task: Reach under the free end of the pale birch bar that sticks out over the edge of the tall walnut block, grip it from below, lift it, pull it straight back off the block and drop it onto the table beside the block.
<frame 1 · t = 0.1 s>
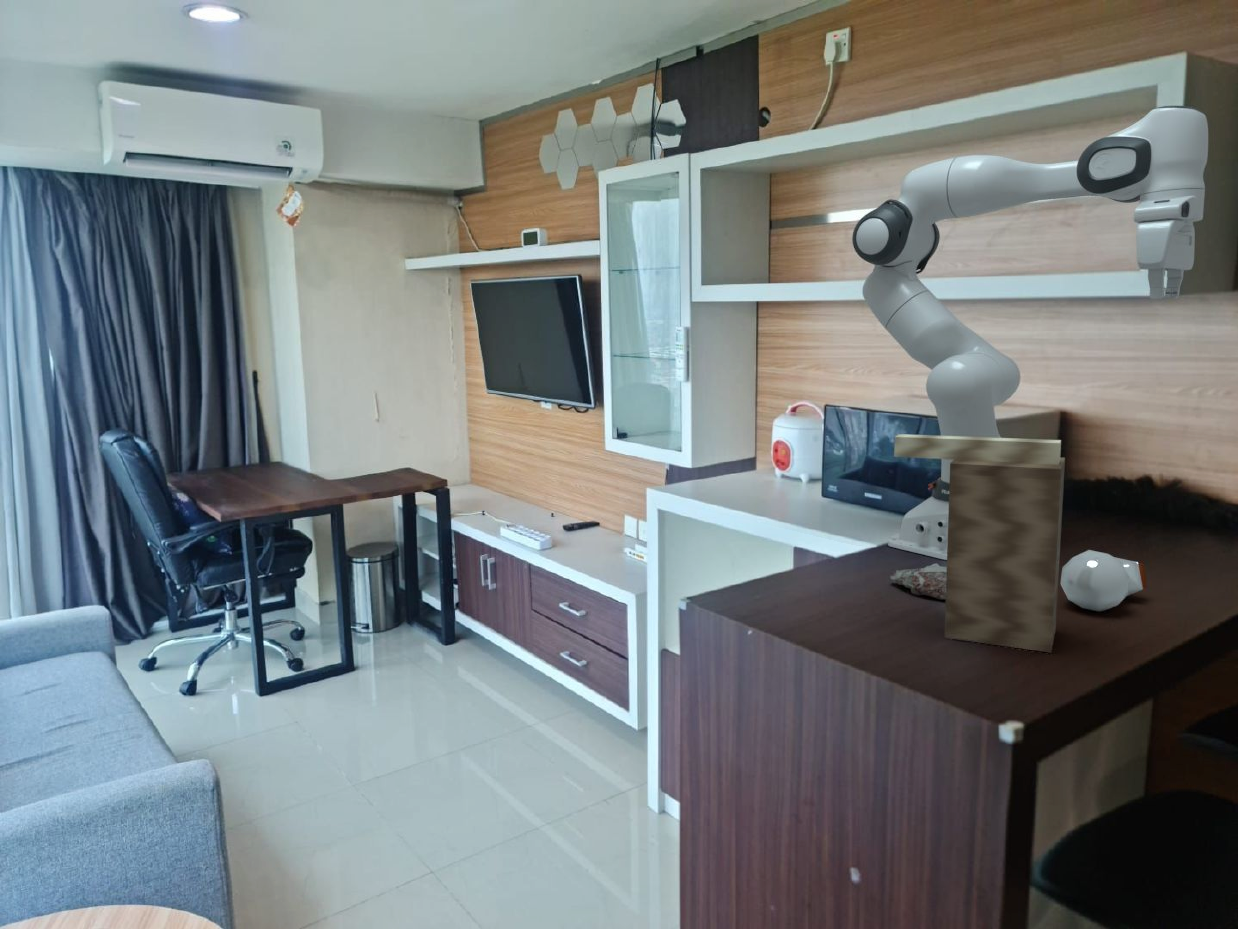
hand: (1164, 298, 141), 48 cm above the table, tool pointing down, fingers open, 8 cm apart
potion bottle: (1101, 606, 138), on the table
walnut block: (1000, 634, 127), on the table
mineral rock: (932, 595, 146), on the table
birch bar: (974, 458, 125), point 26 cm above the table, touching walnut block
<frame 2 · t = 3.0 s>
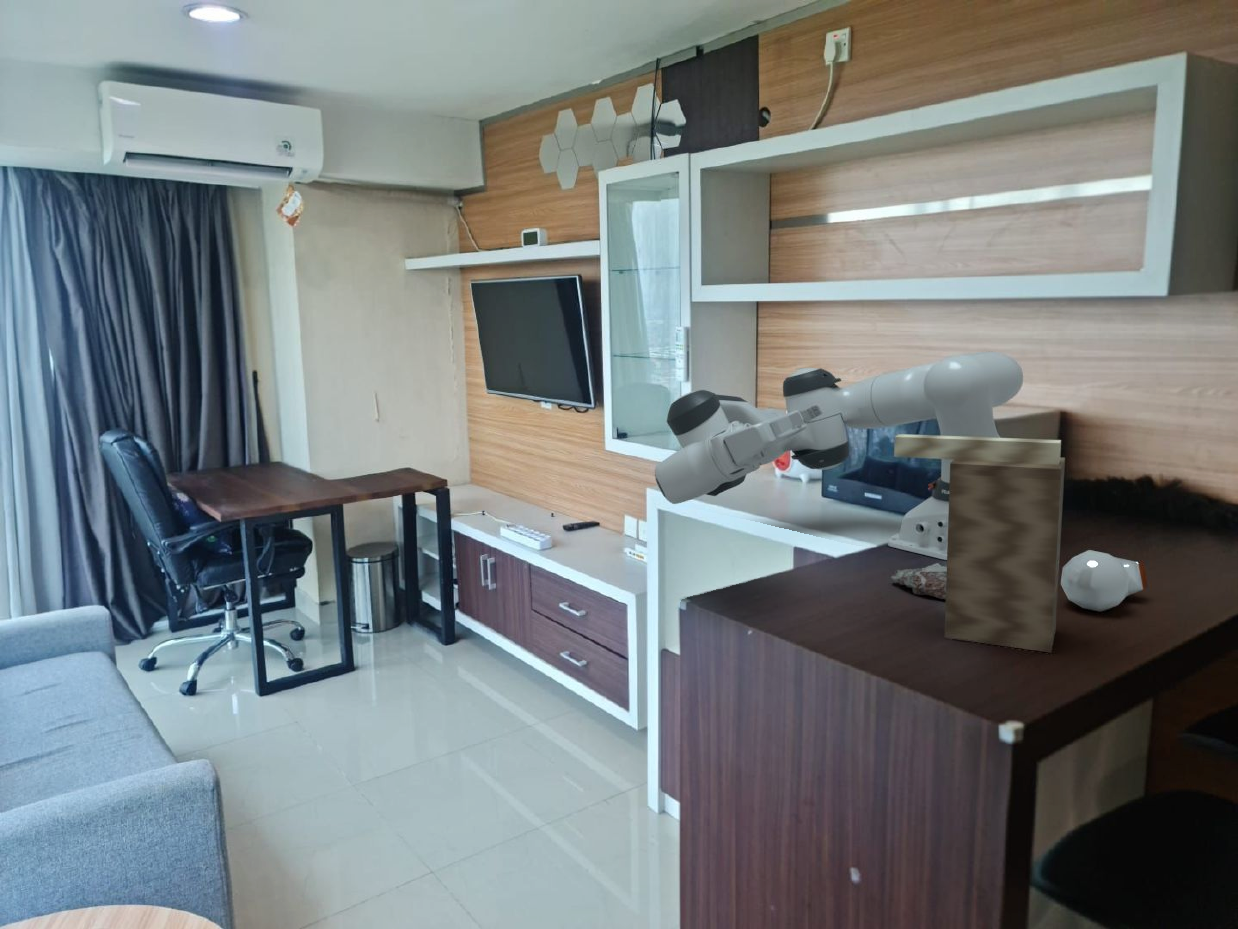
hand: (811, 412, 136), 32 cm above the table, tool pointing upward, fingers open, 8 cm apart
nothing on the table moved.
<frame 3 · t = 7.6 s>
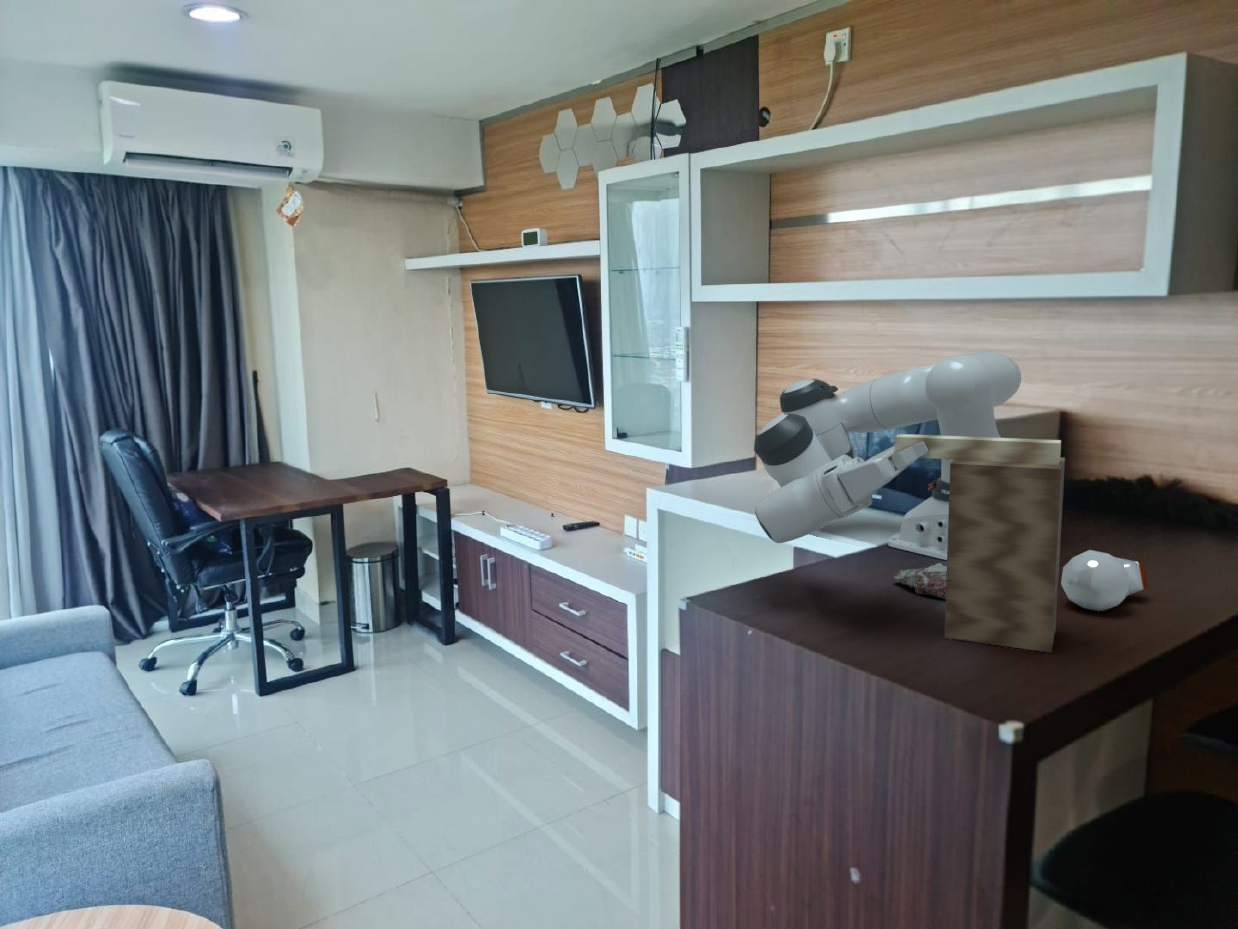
hand: (929, 443, 127), 28 cm above the table, tool pointing upward, fingers closed on birch bar, 3 cm apart
birch bar: (974, 458, 125), point 26 cm above the table, touching gripper, walnut block
everything else where it was.
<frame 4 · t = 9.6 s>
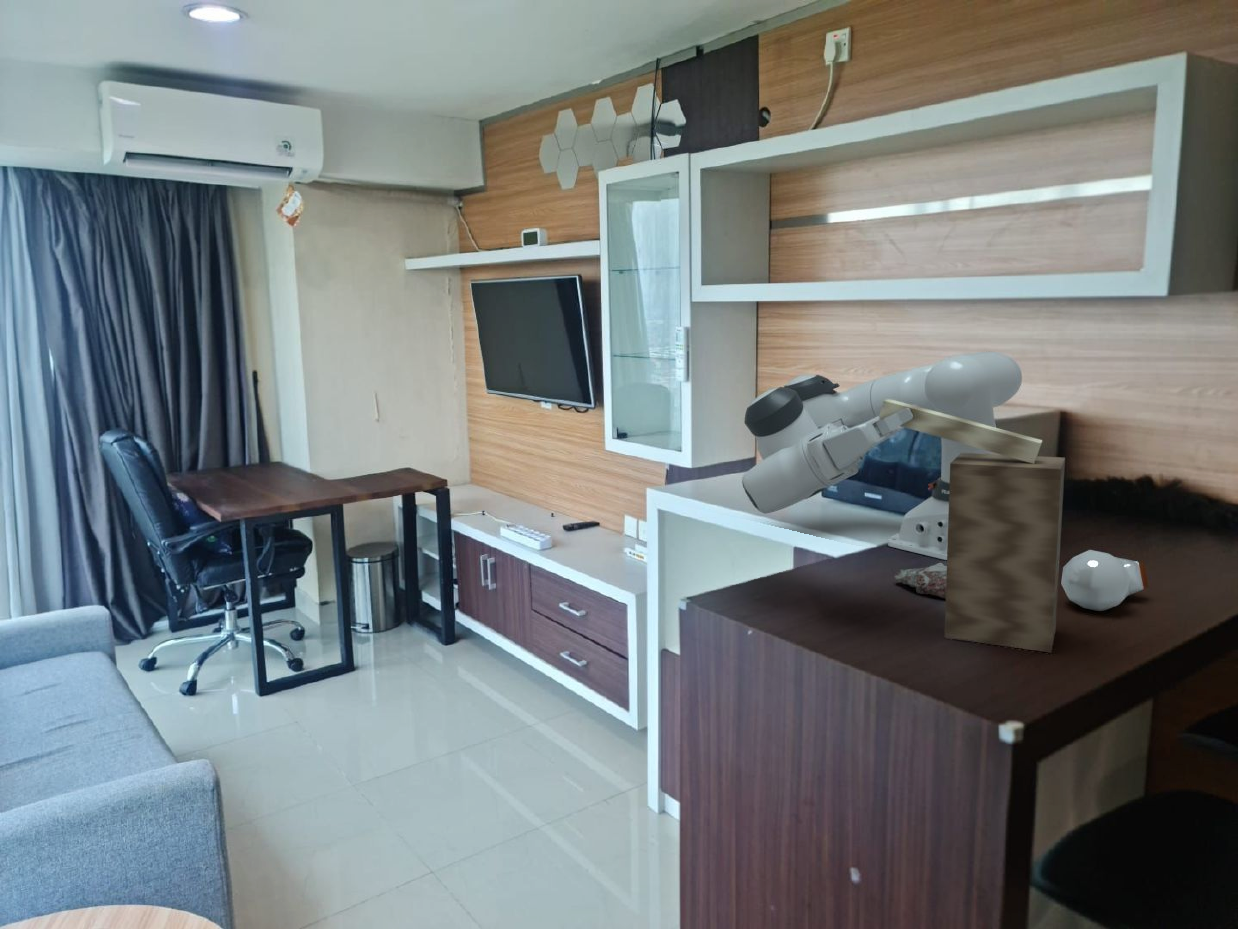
hand: (914, 410, 127), 33 cm above the table, tool pointing upward, fingers closed on birch bar, 3 cm apart
birch bar: (954, 439, 125), point 29 cm above the table, tilted 14°, touching gripper
everything else where it was.
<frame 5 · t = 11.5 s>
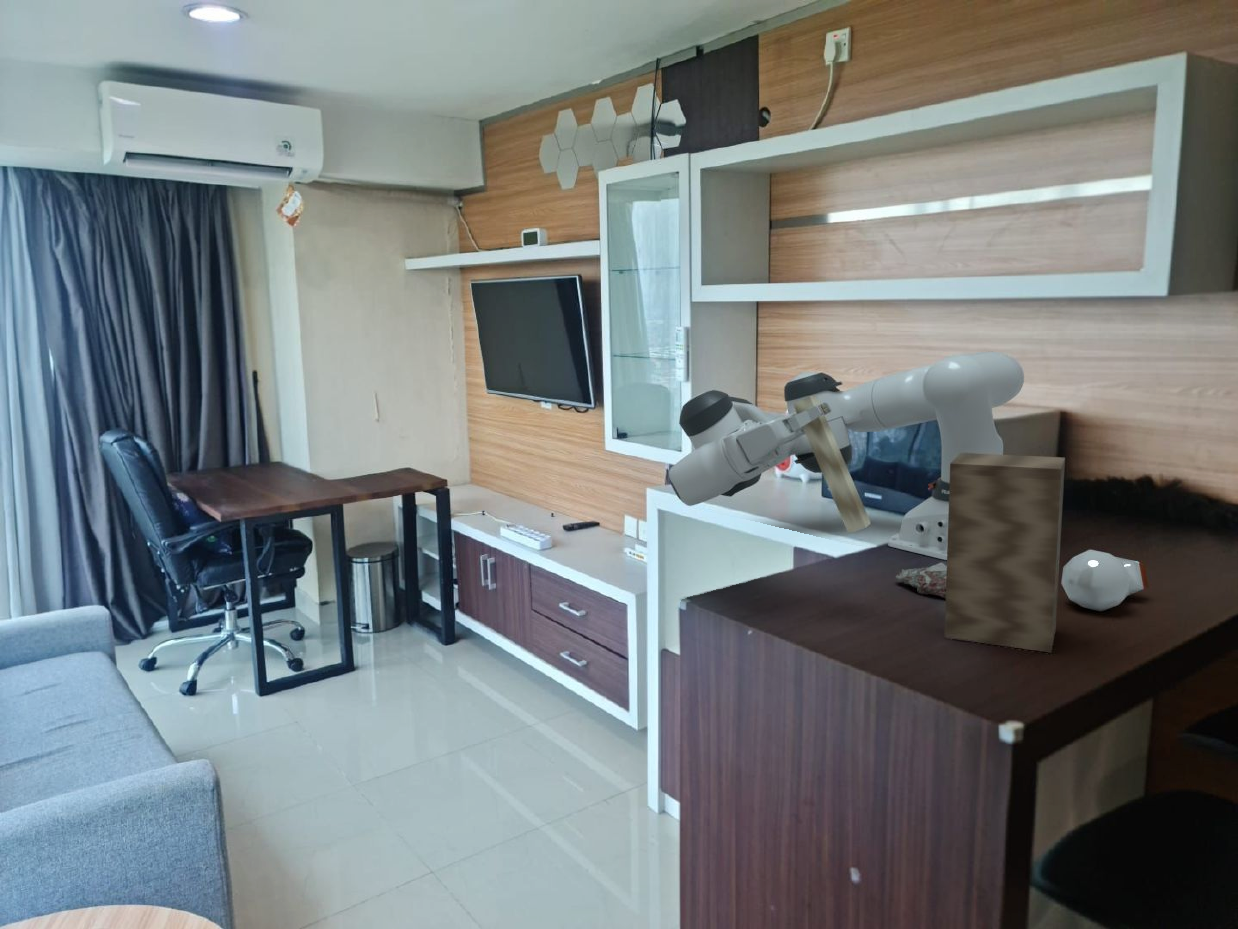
hand: (824, 408, 134), 33 cm above the table, tool pointing upward, fingers closed on birch bar, 3 cm apart
birch bar: (823, 466, 136), point 24 cm above the table, tilted 66°, touching gripper
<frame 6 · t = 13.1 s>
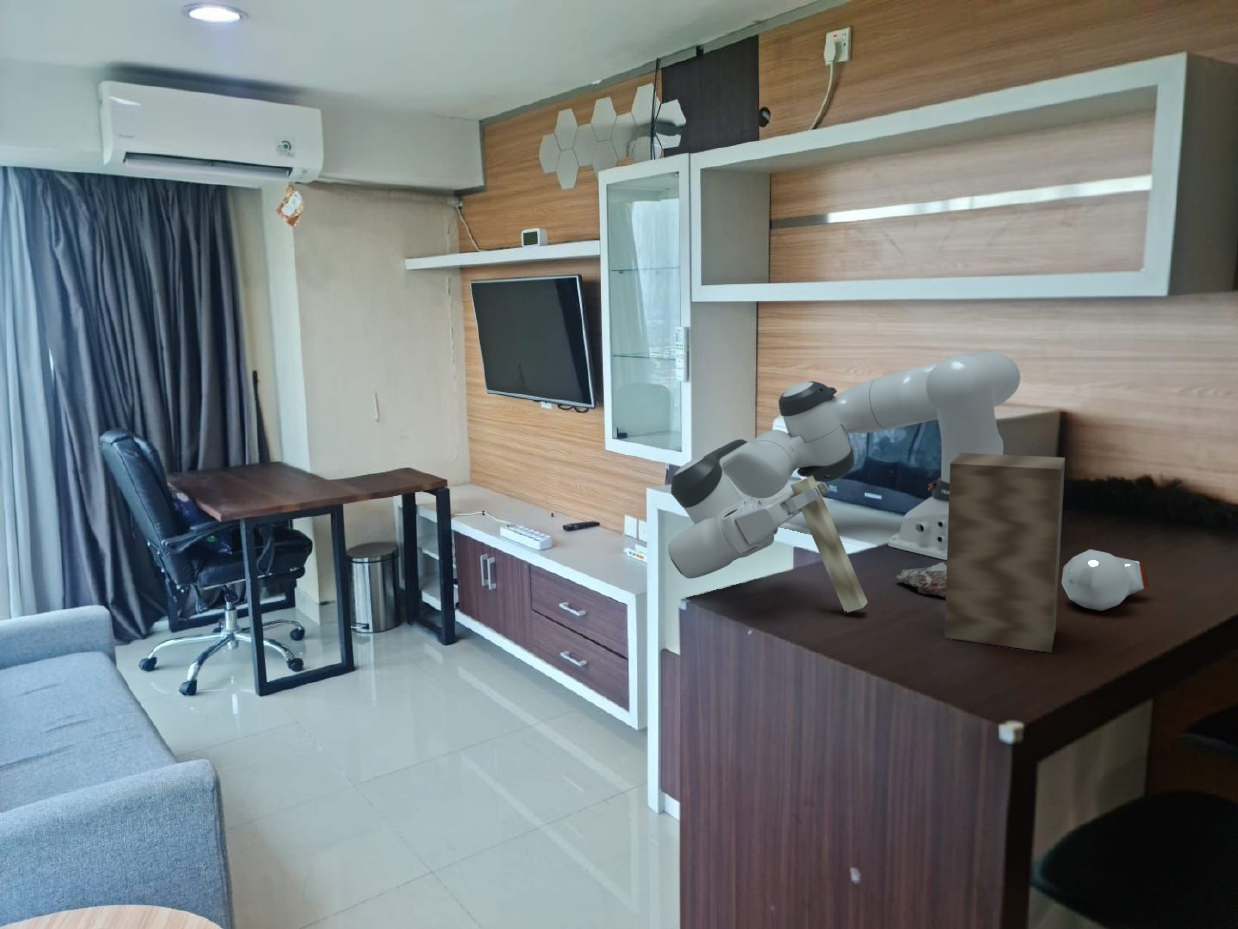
hand: (821, 489, 136), 20 cm above the table, tool pointing upward, fingers closed on birch bar, 3 cm apart
birch bar: (820, 546, 138), point 11 cm above the table, tilted 66°, touching gripper
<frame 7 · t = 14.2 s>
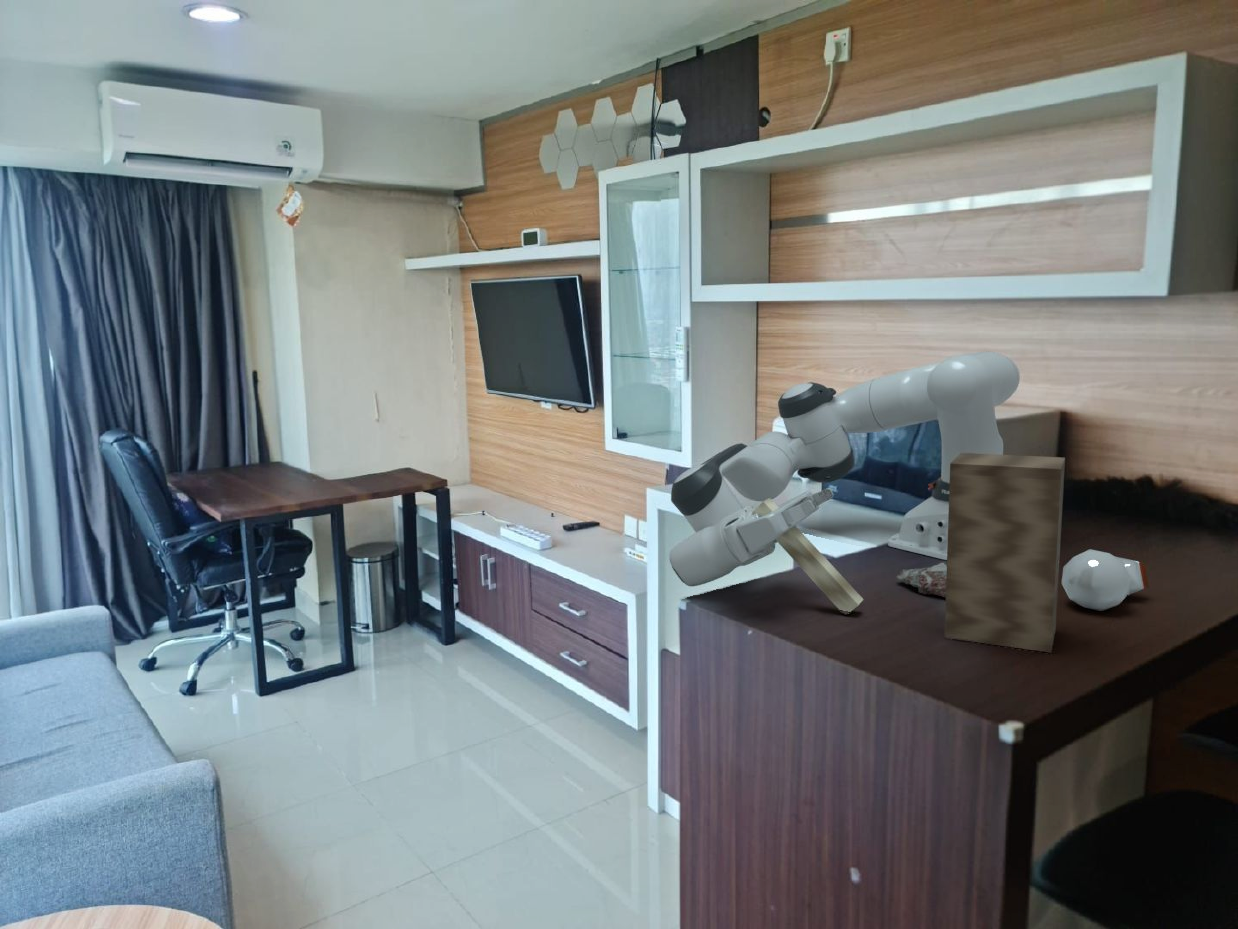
hand: (822, 498, 137), 18 cm above the table, tool pointing upward, fingers open, 8 cm apart
birch bar: (800, 561, 140), point 8 cm above the table, tilted 44°, touching arm
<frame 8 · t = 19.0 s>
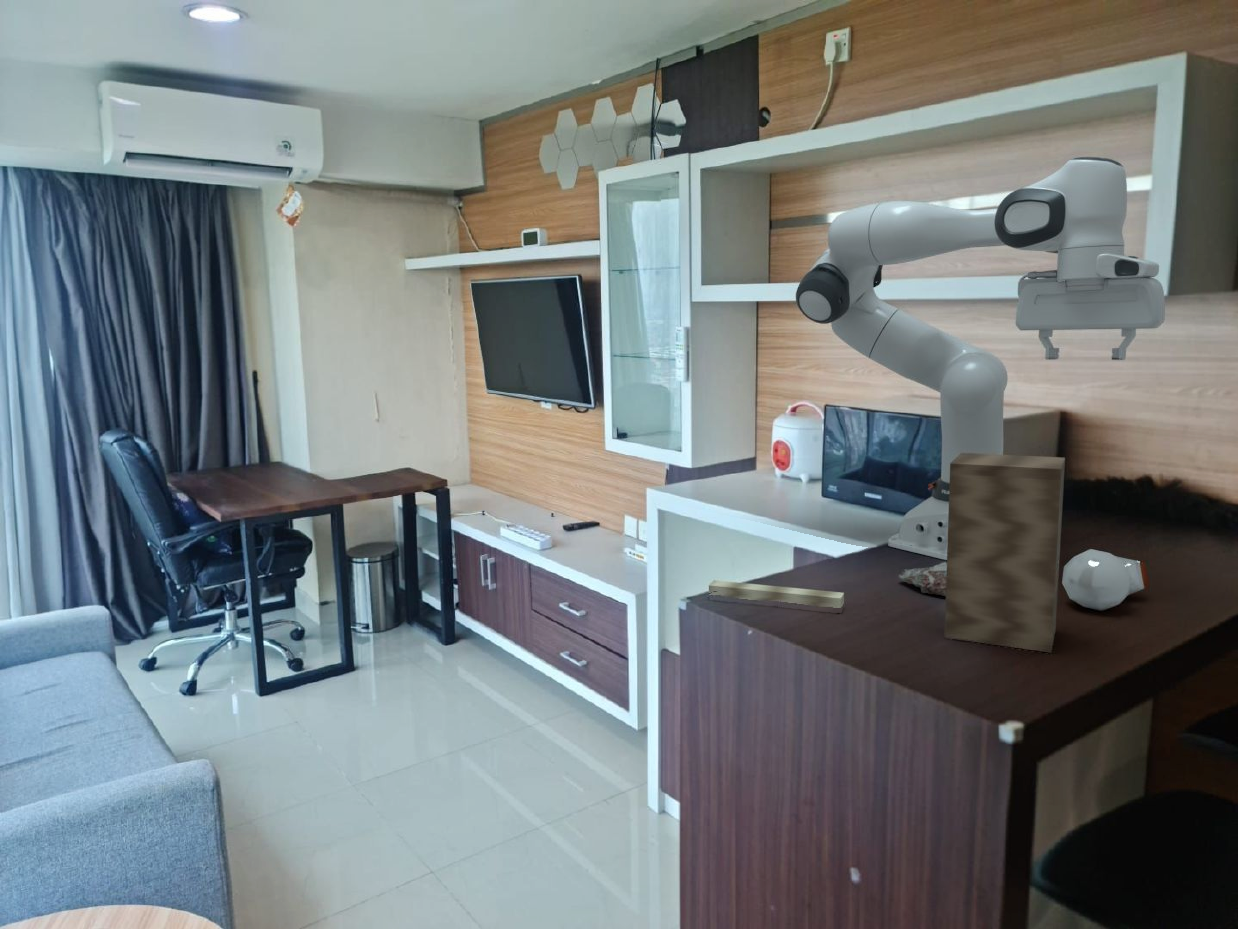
hand: (1084, 359, 133), 39 cm above the table, tool pointing down, fingers open, 8 cm apart
birch bar: (774, 606, 143), on the table
at the end: birch bar on the table; birch bar touching table; the gripper is holding nothing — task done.
